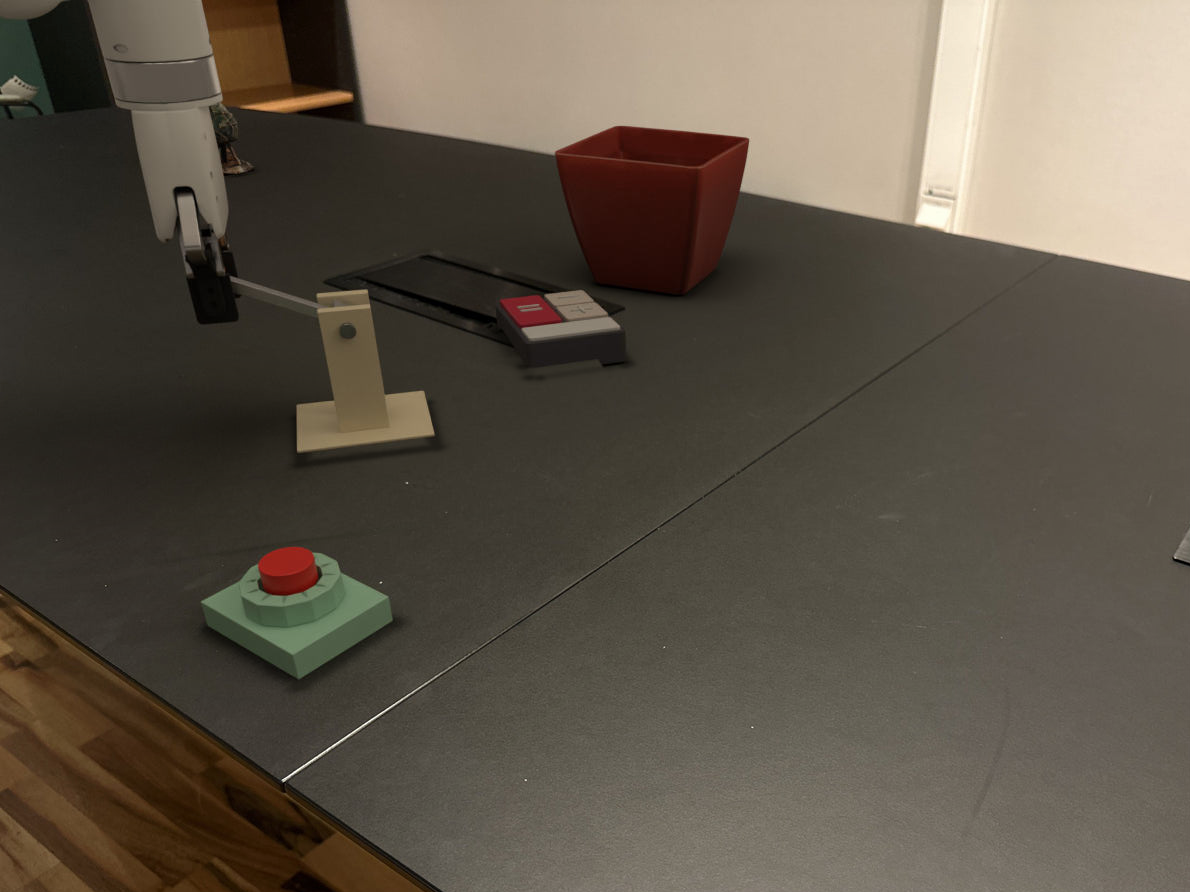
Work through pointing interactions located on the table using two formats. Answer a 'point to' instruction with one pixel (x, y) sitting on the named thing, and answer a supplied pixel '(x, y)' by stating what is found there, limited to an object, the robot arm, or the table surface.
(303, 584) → the button
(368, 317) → the bracket
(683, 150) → the flower pot
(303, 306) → the lever
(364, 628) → the control block
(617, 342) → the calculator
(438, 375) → the table surface
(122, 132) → the table surface
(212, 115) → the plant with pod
